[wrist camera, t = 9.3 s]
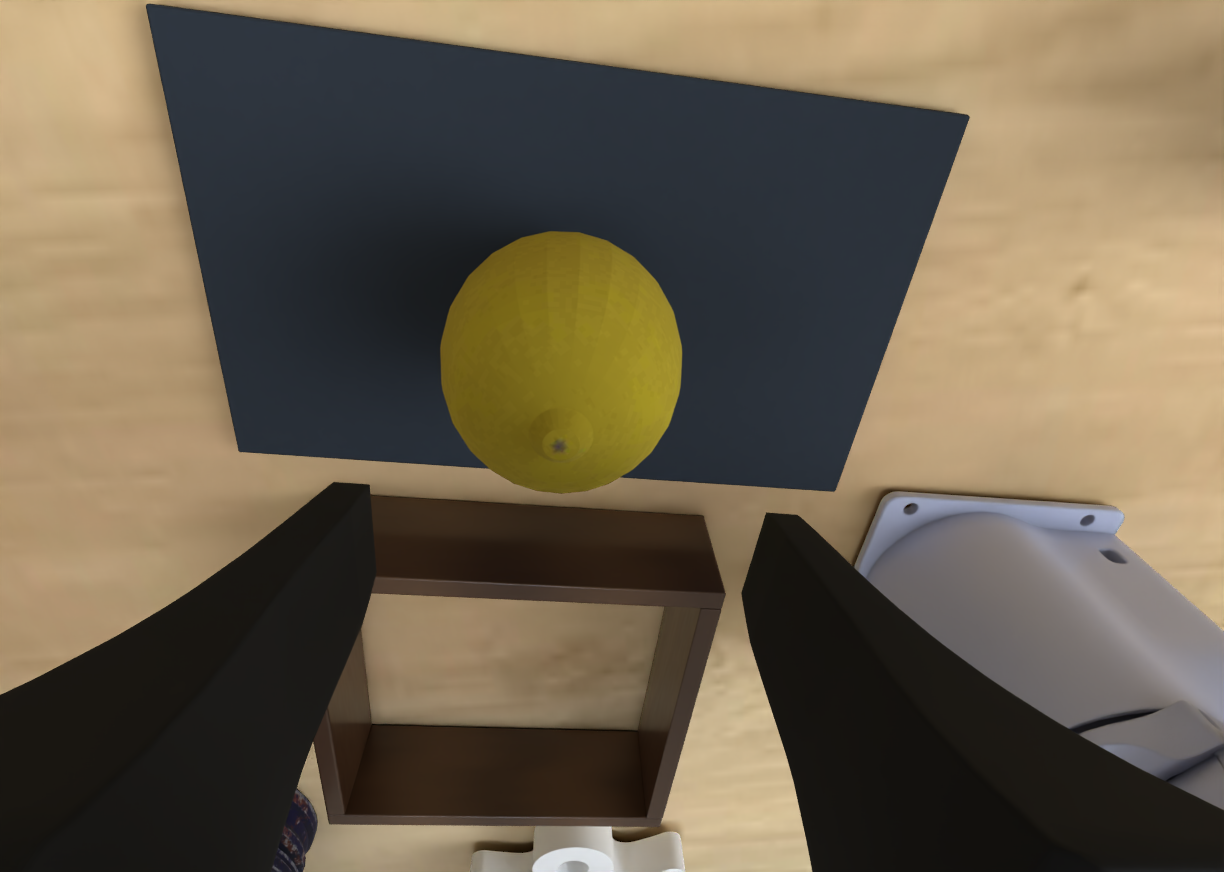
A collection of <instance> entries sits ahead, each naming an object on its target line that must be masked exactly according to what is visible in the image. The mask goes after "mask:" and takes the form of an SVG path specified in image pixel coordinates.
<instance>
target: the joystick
mask: <svg viewBox="0 0 1224 872" xmlns="http://www.w3.org/2000/svg"><path fill="white" fill-rule="evenodd" d="M470 872H685V865H684V858H683V851H682V844H681V837H680V835H679V834H678V833H676V832H664V833H661V834H658V835H655V836H652V837H648V838H645V839H641V840H638V841H634V842H628V843H624V842H618V841H616V840H614V839H613V838H612V827H597V826H536V827H535V830H534V847H533V851H530V852H527V853H510V852H498V851H489V850H481V851H477V852H475V853H473V855H472V858H471V866H470Z"/></svg>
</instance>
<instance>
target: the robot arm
mask: <svg viewBox="0 0 1224 872" xmlns="http://www.w3.org/2000/svg"><path fill="white" fill-rule="evenodd" d="M911 503H912V504H911ZM908 504H911V506H909V507H908V508H905V506H906V505H908ZM1123 521H1124V514H1123V513H1122V512H1121V511H1120V510H1119V509H1118V508H1117V507H1114V506H1108V505H1093V504H1078V503H1063V502H1049V501H1034V500H1019V499H1004V498H990V497H975V496H960V495H945V494H930V493H916V492H901V491H896V492H891V493H889V494H887V495H886V496H884V497H883V499H882V500H881V502H880V504H879V507H878V509H877V512H876V514H875V516H874V519H873V521H872V524H871V526H870V529H869V531H868V534H867V536H866V538H865V541H864V543H863V546H862V548H861V551H860V553H859V556H858V558H857V561H856V563H855V565H854V567H853V566H852V565H851V564H850V563H849V562H848V561H847V560H846V559H845V558H843V557H842V556H841V555H840V554H839V553H838V552H837V551H836V550H835V549H834V548H833V547H832V546H831V545H830V544H829V543H828V542H827V541H826V540H825V539H824V538H823V537H821V536H820V535H819V534H818V533H817V532H816V531H815V530H814V529H813V528H812V527H811V526H810V525H809V524H808V523H806V522H805V521H804V520H803V519H802V518H801V517H799V516H798V515H792V514H778V513H766V515H765V518H764V521H763V525H762V528H761V531H760V535H759V538H758V541H757V544H756V548H755V551H754V554H753V557H752V561H751V564H750V567H749V570H748V574H747V577H746V580H745V583H744V587H743V590H742V593H741V594H742V600H743V606H744V612H745V618H746V623H747V628H748V634H749V639H750V643H751V647H752V650H753V653H754V657H755V660H756V663H757V666H758V669H759V672H760V676H761V679H762V682H763V685H764V688H765V691H766V694H767V697H768V700H769V703H770V707H771V710H772V713H773V716H774V719H775V722H776V725H777V728H778V731H779V734H780V737H781V740H782V743H783V747H784V750H785V753H786V756H787V759H788V763H789V767H790V770H791V774H792V777H793V781H794V785H795V790H796V794H797V799H798V804H799V808H800V813H801V817H802V822H803V826H804V831H805V836H806V840H807V846H808V851H809V856H810V861H811V866H812V871H813V872H1224V631H1223V630H1222V629H1221V628H1220V627H1218V626H1217V625H1216V624H1215V623H1214V622H1213V621H1212V620H1211V619H1209V618H1208V617H1207V616H1206V615H1205V614H1204V613H1203V612H1201V611H1200V610H1199V609H1198V608H1197V607H1196V606H1195V605H1194V604H1192V603H1191V602H1190V601H1189V600H1188V599H1187V598H1186V597H1185V596H1183V595H1182V594H1181V593H1180V592H1179V591H1178V590H1177V589H1175V588H1174V587H1173V586H1172V585H1171V584H1170V583H1169V582H1168V581H1166V580H1165V579H1164V578H1163V577H1162V576H1161V575H1160V574H1158V573H1157V572H1156V571H1155V570H1154V569H1153V568H1152V567H1151V566H1149V565H1148V564H1147V563H1146V562H1145V561H1144V560H1143V559H1141V558H1140V557H1139V556H1138V555H1137V554H1136V553H1135V552H1134V551H1132V550H1131V549H1130V548H1129V547H1128V546H1127V545H1126V544H1124V543H1123V542H1122V541H1121V540H1120V539H1119V538H1118V537H1117V536H1115V534H1116V532H1117V530H1118V529H1119V527H1120V526H1121V524H1122V523H1123ZM376 573H377V571H376V558H375V546H374V533H373V521H372V508H371V496H370V485H367V484H353V483H339V482H333V483H332V484H331V485H329V486H328V487H327V488H326V489H324V490H323V491H322V492H321V493H319V494H318V495H317V496H315V497H314V498H313V499H312V500H310V501H309V502H308V503H307V504H306V505H304V506H303V507H302V508H301V509H299V510H298V511H297V512H296V513H294V514H293V515H292V516H291V517H289V518H288V519H287V520H286V521H284V522H283V523H282V524H281V525H280V526H278V527H277V528H276V529H275V530H273V531H272V532H271V533H269V534H268V535H267V536H265V537H264V538H263V539H262V540H260V541H259V542H258V543H256V544H255V545H254V546H253V547H251V548H250V549H249V550H247V551H246V552H245V553H243V554H242V555H241V556H239V557H238V558H237V559H235V560H234V561H232V562H231V563H230V564H228V565H227V566H225V567H224V568H222V569H221V570H220V571H218V572H217V573H215V574H214V575H213V576H211V577H210V578H208V579H207V580H206V581H204V582H203V583H201V584H200V585H198V586H197V587H196V588H194V589H193V590H191V591H190V592H188V593H187V594H185V595H184V596H182V597H180V598H179V599H177V600H176V601H174V602H173V603H171V604H169V605H168V606H166V607H165V608H163V609H161V610H160V611H158V612H156V613H155V614H153V615H151V616H150V617H148V618H146V619H145V620H143V621H141V622H140V623H138V624H136V625H135V626H133V627H131V628H130V629H128V630H126V631H124V632H123V633H121V634H119V635H117V636H116V637H114V638H112V639H110V640H108V641H106V642H104V643H102V644H101V645H99V646H97V647H95V648H93V649H91V650H89V651H87V652H85V653H83V654H81V655H80V656H78V657H76V658H74V659H72V660H70V661H68V662H66V663H64V664H62V665H60V666H58V667H57V668H55V669H53V670H51V671H49V672H47V673H45V674H43V675H41V676H39V677H37V678H35V679H33V680H31V681H29V682H27V683H25V684H23V685H21V686H18V687H16V688H14V689H12V690H10V691H8V692H6V693H4V694H1V695H0V872H271V870H272V867H273V863H274V860H275V856H276V853H277V850H278V846H279V843H280V840H281V836H282V833H283V830H284V826H285V823H286V820H287V817H288V814H289V810H290V807H291V804H292V801H293V798H294V794H295V791H296V788H297V785H298V782H299V779H300V775H301V772H302V769H303V766H304V764H305V761H306V759H307V756H308V753H309V751H310V748H311V745H312V743H313V740H314V738H315V735H316V733H317V731H318V728H319V726H320V724H321V721H322V719H323V717H324V714H325V712H326V710H327V707H328V705H329V703H330V700H331V698H332V695H333V693H334V691H335V688H336V686H337V684H338V681H339V679H340V677H341V674H342V672H343V670H344V667H345V665H346V663H347V660H348V658H349V655H350V653H351V651H352V648H353V646H354V643H355V641H356V639H357V636H358V634H359V631H360V629H361V626H362V624H363V620H364V617H365V613H366V610H367V607H368V603H369V600H370V596H371V592H372V588H373V585H374V581H375V577H376Z"/></svg>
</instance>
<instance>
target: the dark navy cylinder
mask: <svg viewBox="0 0 1224 872" xmlns="http://www.w3.org/2000/svg"><path fill="white" fill-rule="evenodd" d="M316 831H317V817H316V813H315V811H314V809H313V807H312V805H311V804H310V802H309V801H308V800H307V799H306V797H305V796H304V795H303V794H301V793H300V792H299V791H298V790H297V789H296V791H295V794H294V798H293V801H292V804H291V807H290V810H289V814H288V817H287V820H286V823H285V826H284V830H283V833H282V836H281V840H280V843H279V846H278V850H277V853H276V856H275V860H274V863H273V867H272V870H271V872H303V870H304V867H305V859H306V857H305V854H306V853H307V852H308V850H309V849H310V847H311V845H312V842H313V840H314V837H315V834H316Z"/></svg>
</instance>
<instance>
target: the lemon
mask: <svg viewBox="0 0 1224 872" xmlns="http://www.w3.org/2000/svg"><path fill="white" fill-rule="evenodd" d="M440 352H441V384H442V390H443V394H444V397H445V400H446V403H447V406H448V410H449V413H450V416H451V419H452V422H453V424H454V426H455V428H456V429H457V431H458V432H459V434H460V435H461V437H462V439H463V440H464V442H465V443H466V445H467V446H468V448H469V449H470V451H471V452H472V453H473V454H474V455H475V456H476V457H477V458H478V459H480V460H481V461H482V462H483V463H484V464H485V465H486V466H487V467H488V468H489V469H491V470H492V471H494V472H495V473H497V474H499V475H500V476H502V477H504V478H505V479H507V480H509V481H511V482H512V483H514V484H517V485H520V486H523V487H526V488H530V489H533V490H536V491H542V492H552V493H561V494H562V493H572V492H582V491H588V490H591V489H594V488H597V487H600V486H603V485H607V484H609V483H611V482H612V481H614V480H616V479H618V478H619V477H621V476H623V475H625V474H626V473H628V472H630V471H631V470H633V469H634V468H635V467H636V466H637V465H638V464H639V463H640V462H642V461H643V460H644V459H645V458H646V457H647V456H648V455H649V454H650V453H651V452H652V451H653V449H654V448H655V446H656V445H657V443H658V441H659V440H660V438H661V437H662V435H663V434H664V432H665V431H666V429H667V427H668V426H669V423H670V420H671V418H672V414H673V411H674V408H675V405H676V402H677V399H678V396H679V392H680V387H681V369H682V345H681V341H680V336H679V332H678V328H677V324H676V320H675V315H674V312H673V310H672V308H671V306H670V304H669V302H668V300H667V299H666V297H665V295H664V293H663V291H662V290H661V288H660V286H659V284H658V282H657V281H656V280H655V278H654V277H653V276H652V275H651V274H650V273H649V272H648V271H647V270H646V269H645V268H644V267H643V266H642V265H641V264H640V263H639V262H638V261H637V260H636V259H635V258H634V257H633V256H632V255H630V254H628V253H627V252H625V251H623V250H622V249H620V248H618V247H617V246H615V245H613V244H612V243H610V242H608V241H607V240H604V239H600V238H597V237H593V236H590V235H586V234H583V233H580V232H558V231H548V232H544V233H540V234H535V235H531V236H526V237H522V238H520V239H518V240H516V241H514V242H512V243H510V244H509V245H507V246H505V247H503V248H501V249H499V250H497V251H495V252H494V253H492V254H491V255H490V256H489V257H488V258H487V259H486V260H485V261H484V262H483V263H482V264H481V265H479V266H478V267H477V268H476V269H475V270H474V271H473V272H472V273H471V274H470V275H469V276H468V278H467V279H466V281H465V283H464V284H463V286H462V288H461V289H460V291H459V293H458V294H457V296H456V298H455V299H454V301H453V303H452V305H451V306H450V309H449V313H448V316H447V320H446V324H445V328H444V332H443V336H442V340H441V347H440Z"/></svg>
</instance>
